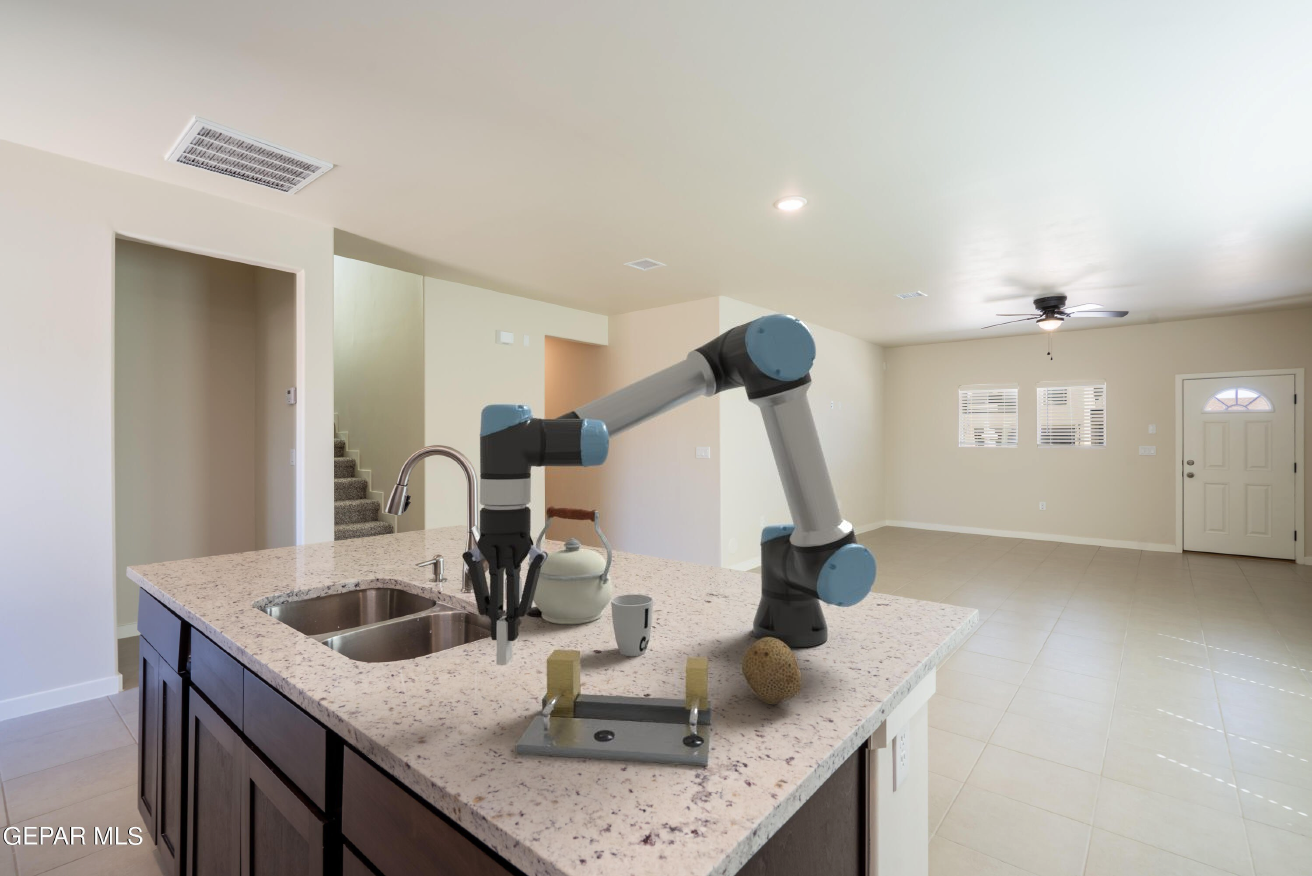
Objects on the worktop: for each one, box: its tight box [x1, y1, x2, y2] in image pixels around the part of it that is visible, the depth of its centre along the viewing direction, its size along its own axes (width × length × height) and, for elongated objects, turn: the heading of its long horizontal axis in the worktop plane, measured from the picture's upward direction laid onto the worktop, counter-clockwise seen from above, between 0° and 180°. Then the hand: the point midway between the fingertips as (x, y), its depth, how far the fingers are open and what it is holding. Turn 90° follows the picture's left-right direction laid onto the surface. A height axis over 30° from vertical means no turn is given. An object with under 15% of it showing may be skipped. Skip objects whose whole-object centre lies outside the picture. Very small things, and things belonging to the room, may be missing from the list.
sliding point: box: [541, 649, 582, 731], centre depth 87 cm, size 4×11×8 cm, turn 173°
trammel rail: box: [541, 656, 712, 740], centre depth 86 cm, size 25×11×8 cm, turn 83°
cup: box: [610, 593, 654, 657], centre depth 116 cm, size 8×8×10 cm
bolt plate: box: [515, 715, 711, 767], centre depth 81 cm, size 25×8×1 cm, turn 83°
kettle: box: [527, 505, 613, 625], centre depth 140 cm, size 25×18×25 cm
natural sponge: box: [741, 637, 802, 705], centre depth 94 cm, size 9×9×10 cm
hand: (504, 661), depth 91 cm, fingers closed
